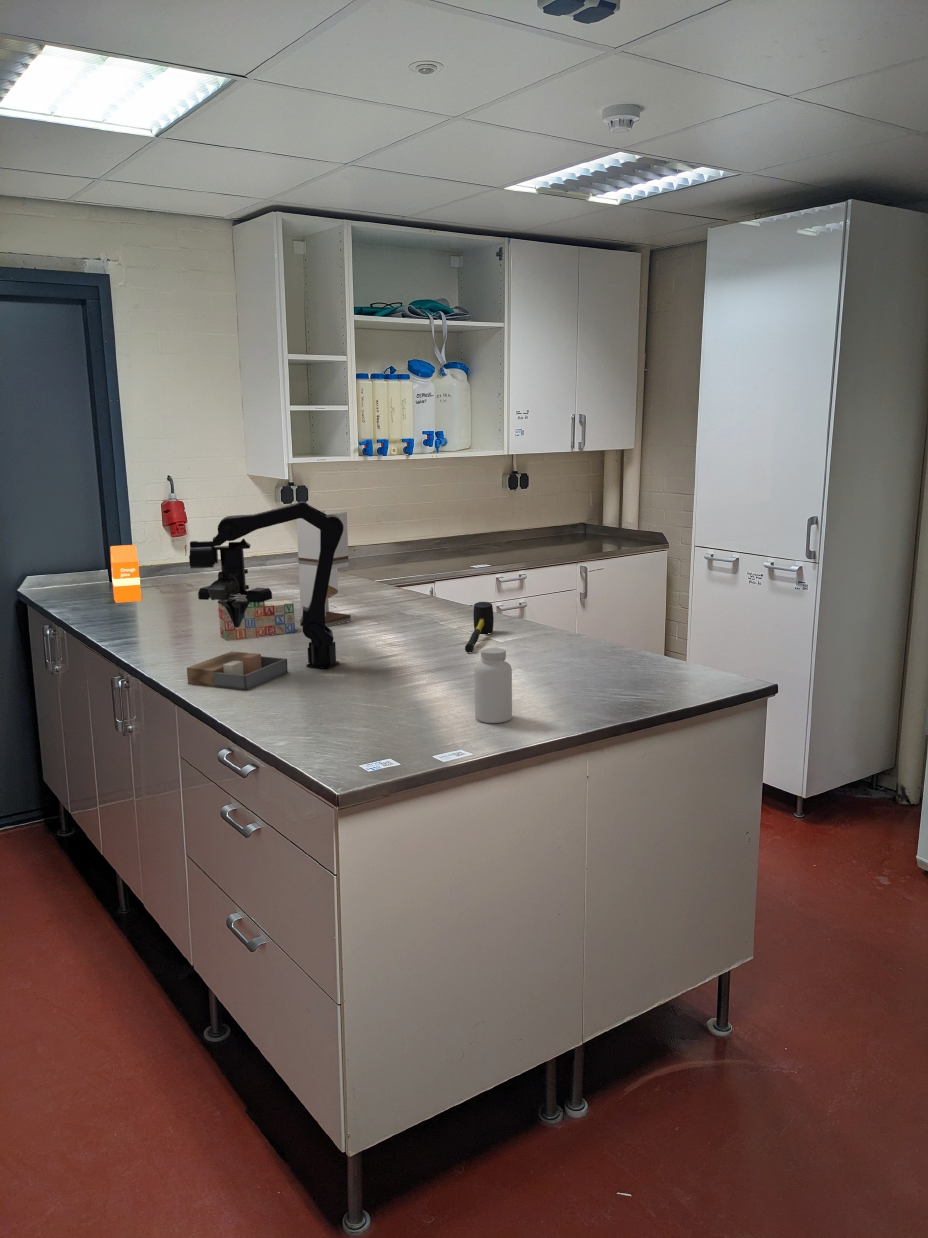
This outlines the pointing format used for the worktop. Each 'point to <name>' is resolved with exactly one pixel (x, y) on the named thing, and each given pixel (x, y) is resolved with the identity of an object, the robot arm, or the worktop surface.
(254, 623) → the stack of blocks
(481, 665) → the pill bottle
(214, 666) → the walnut plate
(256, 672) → the box
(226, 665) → the tile cream
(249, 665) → the tile terracotta
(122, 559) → the orange juice
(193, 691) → the worktop surface
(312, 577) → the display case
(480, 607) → the mallet
